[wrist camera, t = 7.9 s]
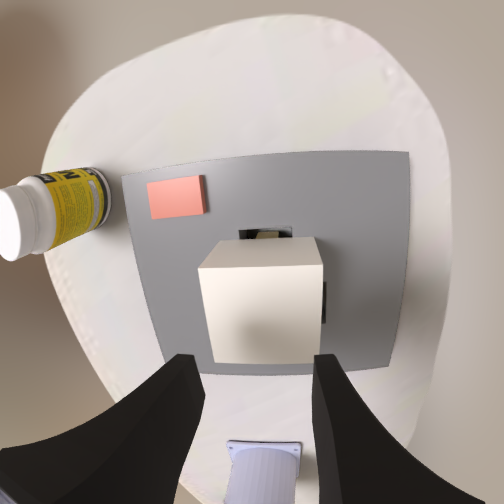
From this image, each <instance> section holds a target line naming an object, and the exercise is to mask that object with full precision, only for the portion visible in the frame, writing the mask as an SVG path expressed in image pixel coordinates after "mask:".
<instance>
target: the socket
mask: <svg viewBox="0 0 504 504" xmlns="http://www.w3.org/2000/svg"><path fill="white" fill-rule="evenodd" d="M121 179H122V187H123V194H124V200H125V206H126V212H127V218H128V224H129V229H130V234H131V239H132V244H133V249H134V254H135V258H136V263H137V267H138V271H139V275H140V279H141V283H142V287H143V291H144V295H145V299H146V302H147V306H148V309H149V313H150V316H151V320H152V323H153V327H154V330H155V333H156V336H157V339H158V342H159V346H160V349H161V352H162V355H163V357H164V360H165V363H167V362H168V361H169V360H170V359H171V358H173V357H174V356H175V355H176V354H191V355H194V357H195V361H196V364H197V368H198V371H199V373H203V374H220V375H252V376H276V375H307V374H313V365H314V363H307V364H235V363H215V361H214V357H213V352H212V347H211V342H210V336H209V331H208V326H207V320H206V315H205V309H204V304H203V298H202V292H201V286H200V280H199V273H198V267H199V266H200V265H201V264H202V262H203V261H204V260H205V258H206V257H207V256H208V255H209V253H210V252H211V251H212V250H213V248H214V247H215V246H216V245H217V243H218V242H219V241H221V240H243V239H247V233H246V229H261V228H277V227H292V238H293V237H314V239H315V242H316V245H317V248H318V251H319V254H320V257H321V260H322V263H323V290H322V316H321V335H320V350H319V355H320V354H334V355H335V356H336V357H337V359H338V361H339V363H340V365H341V367H342V369H343V370H344V372H348V371H357V370H366V369H374V368H381V367H388V366H389V363H390V359H391V354H392V350H393V346H394V341H395V336H396V331H397V326H398V321H399V315H400V309H401V303H402V296H403V289H404V282H405V273H406V264H407V253H408V240H409V221H410V167H409V152H399V151H309V152H290V153H275V154H263V155H252V156H242V157H233V158H224V159H216V160H209V161H201V162H194V163H188V164H182V165H175V166H170V167H164V168H158V169H153V170H148V171H143V172H138V173H133V174H128V175H123V176H121Z"/></svg>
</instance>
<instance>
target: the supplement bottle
mask: <svg viewBox="0 0 504 504" xmlns="http://www.w3.org/2000/svg"><path fill="white" fill-rule="evenodd" d="M110 208H111V193H110V189H109V186H108V183H107V181H106V179H105V178H104V176H103V175H102V174H101V173H100V172H99V171H97V170H95V169H93V168H87V167H86V168H77V169H70V170H64V171H57V172H52V173H45V174H40V175H34V176H29V177H27V178H24V179H23V180H21V181H20V182H19V183H18V184H17V185H16V186H9V187H7V188H4V189H0V254H1V255H2V257H4V258H5V259H6V260H8V261H14V260H17V259H19V258H21V257H23V256H25V255H27V254H29V253H33V254H41V253H44V252H46V251H49V250H51V249H53V248H55V247H57V246H59V245H61V244H63V243H65V242H67V241H69V240H71V239H73V238H76V237H78V236H80V235H82V234H84V233H87V232H89V231H91V230H94V229H96V228H98V227H99V226H101V225H102V224H103V223H104V222H105V220H106V219H107V217H108V215H109V212H110Z"/></svg>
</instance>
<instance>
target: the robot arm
mask: <svg viewBox="0 0 504 504" xmlns="http://www.w3.org/2000/svg"><path fill="white" fill-rule="evenodd" d="M204 400H205V392H204V388H203V385H202V382H201V378H200V375H199V371H198V368H197V364H196V361H195V357H194V355H191V354H176V355H175V356H174V357H173V358H171V359H170V360H169V361H168V362H167V363H166V364H164V365H163V366H162V367H161V368H160V369H159V370H158V371H156V372H155V373H154V374H153V375H152V376H151V377H149V378H148V379H147V380H146V381H145V382H143V383H142V384H141V385H140V386H139V387H137V388H136V389H135V390H134V391H132V392H131V393H130V394H128V395H127V396H126V397H124V398H123V399H122V400H120V401H119V402H118V403H116V404H115V405H114V406H112V407H111V408H109V409H108V410H106V411H105V412H103V413H102V414H100V415H98V416H96V417H95V418H93V419H91V420H89V421H88V422H86V423H84V424H82V425H80V426H77V427H75V428H73V429H71V430H69V431H67V432H64V433H62V434H60V435H57V436H54V437H51V438H48V439H45V440H42V441H38V442H35V443H31V444H27V445H22V446H15V447H9V448H2V449H1V451H0V504H173V503H174V498H175V493H176V489H177V485H178V481H179V477H180V474H181V471H182V468H183V465H184V462H185V460H186V457H187V454H188V452H189V449H190V446H191V444H192V441H193V438H194V436H195V433H196V430H197V428H198V425H199V422H200V419H201V414H202V410H203V405H204ZM312 424H313V432H314V440H315V448H316V456H317V465H318V474H319V504H485V502H484V501H482V500H480V499H477V498H475V497H473V496H471V495H469V494H467V493H465V492H464V491H462V490H460V489H458V488H456V487H455V486H453V485H452V484H450V483H448V482H447V481H445V480H444V479H442V478H441V477H439V476H438V475H436V474H435V473H434V472H433V471H431V470H430V469H429V468H427V467H426V466H424V464H422V463H421V462H420V461H419V460H417V459H416V458H415V457H414V456H412V455H411V454H410V453H409V452H408V451H407V450H406V449H405V448H404V447H403V446H402V445H401V444H400V443H399V442H398V441H397V440H396V439H395V438H394V437H393V436H392V435H391V434H390V433H389V432H388V431H387V430H386V429H385V427H384V426H383V425H382V424H381V423H380V422H379V420H378V419H377V418H376V417H375V416H374V414H373V413H372V412H371V411H370V409H369V408H368V407H367V405H366V404H365V403H364V401H363V400H362V398H361V397H360V395H359V394H358V393H357V391H356V390H355V388H354V387H353V385H352V384H351V382H350V380H349V379H348V377H347V376H346V374H345V372H344V370H343V369H342V367H341V365H340V363H339V361H338V359H337V357H336V356H335V355H334V354H320V355H314V365H313V384H312ZM226 446H227V449H228V452H229V455H230V458H231V460H232V463H233V464H232V469H231V474H230V478H229V483H228V488H227V492H226V497H225V501H224V504H295V485H296V478H297V477H299V467H300V453H301V444H299V443H250V442H234V441H228V442H227V444H226Z"/></svg>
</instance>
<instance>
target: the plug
mask: <svg viewBox="0 0 504 504" xmlns="http://www.w3.org/2000/svg"><path fill="white" fill-rule="evenodd" d="M198 273H199V280H200V286H201V292H202V298H203V304H204V309H205V315H206V320H207V326H208V331H209V336H210V342H211V347H212V352H213V357H214V361H215V363H235V364H307V363H314V355H319V350H320V335H321V316H322V290H323V263H322V260H321V257H320V254H319V251H318V248H317V245H316V242H315V239H314V237H293V238H279V231H274V232H258V234H257V237H256V239H243V240H221V241H219V242H218V243H217V245H216V246H215V247H214V248H213V250H212V251H211V252H210V253H209V255H208V256H207V257H206V258H205V260H204V261H203V262H202V264H201V265H200V266H199V267H198Z"/></svg>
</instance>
